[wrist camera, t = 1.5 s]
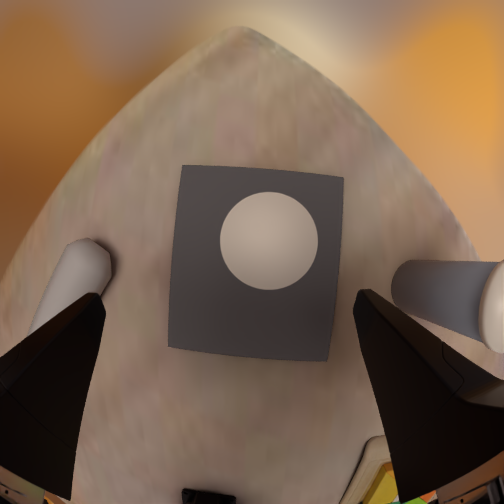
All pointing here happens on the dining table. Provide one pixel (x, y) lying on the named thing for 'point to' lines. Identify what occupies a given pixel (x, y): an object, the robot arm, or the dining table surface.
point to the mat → (255, 262)
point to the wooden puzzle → (377, 478)
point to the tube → (73, 279)
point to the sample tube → (455, 297)
